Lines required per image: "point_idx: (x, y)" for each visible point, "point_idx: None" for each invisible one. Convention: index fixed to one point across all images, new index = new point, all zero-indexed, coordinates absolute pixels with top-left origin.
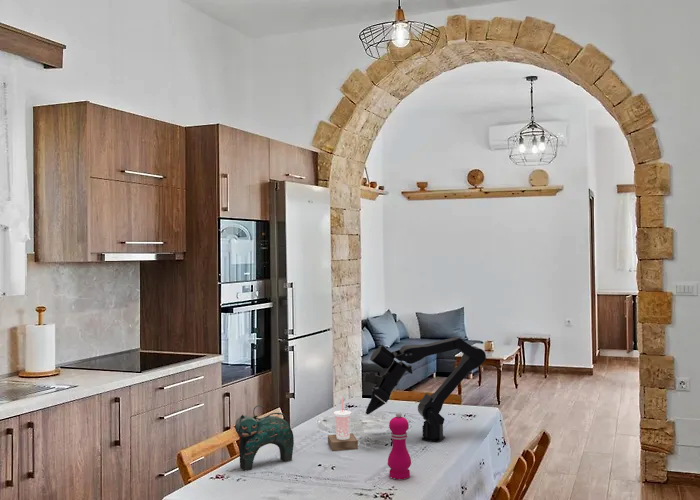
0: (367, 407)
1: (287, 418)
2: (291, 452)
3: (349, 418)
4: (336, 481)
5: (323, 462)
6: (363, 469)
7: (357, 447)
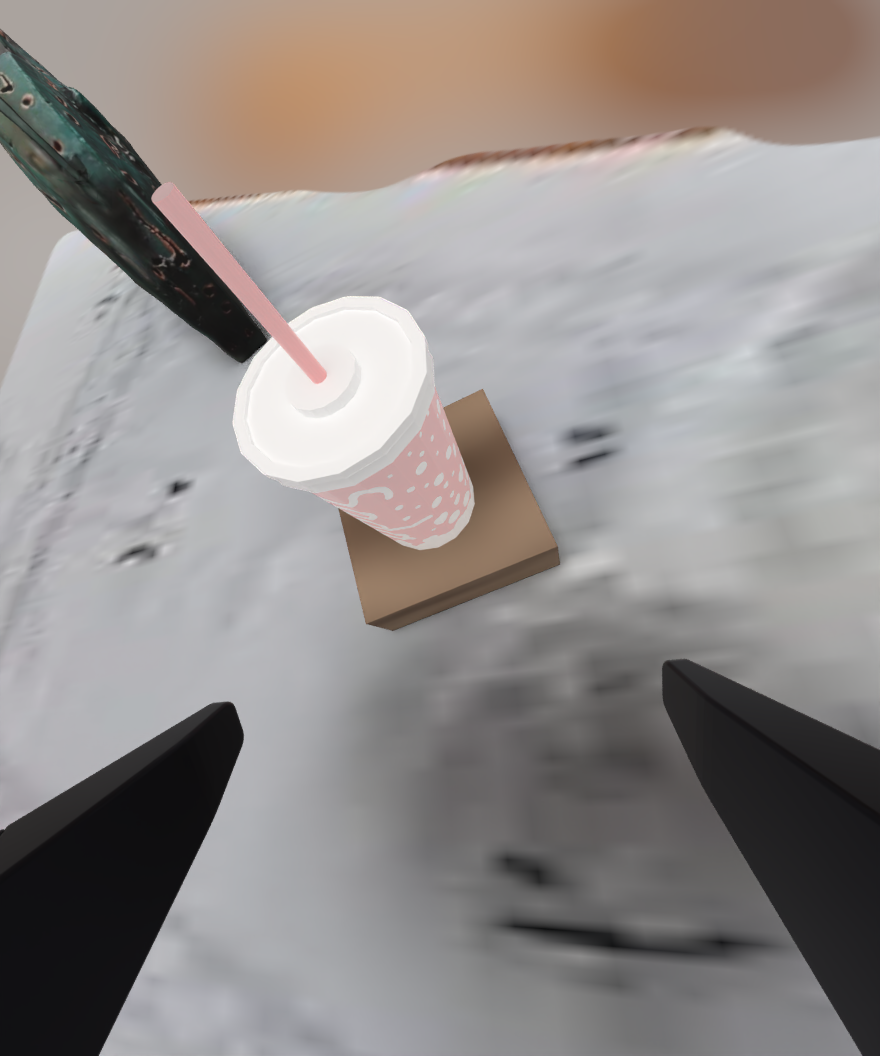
0: (695, 690)
1: (37, 142)
2: (209, 338)
3: (323, 493)
4: (2, 605)
5: (202, 494)
6: (83, 711)
7: (387, 627)
